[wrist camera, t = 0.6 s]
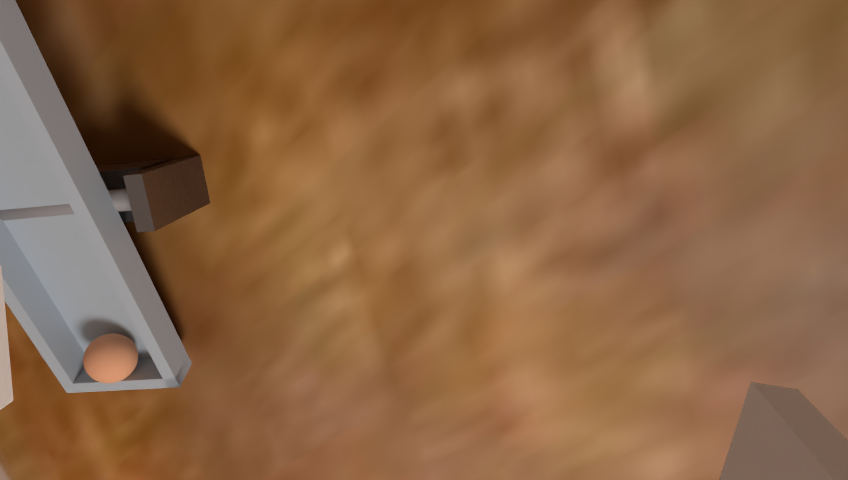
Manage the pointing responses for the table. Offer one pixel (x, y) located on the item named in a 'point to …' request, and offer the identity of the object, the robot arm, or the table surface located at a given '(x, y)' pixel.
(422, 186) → the table surface
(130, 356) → the ball
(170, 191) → the fulcrum
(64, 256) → the lever
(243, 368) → the table surface
